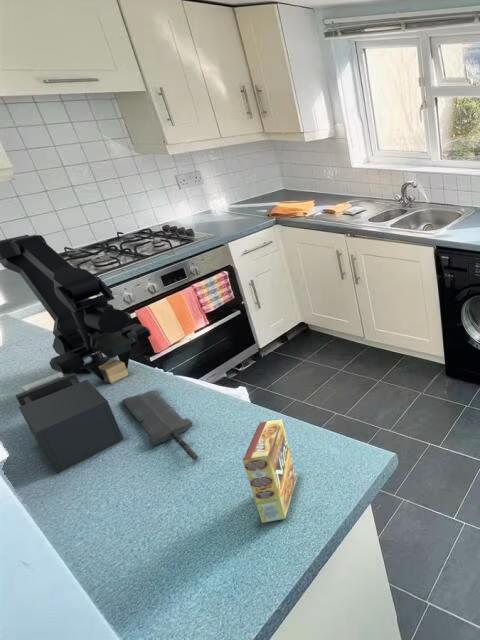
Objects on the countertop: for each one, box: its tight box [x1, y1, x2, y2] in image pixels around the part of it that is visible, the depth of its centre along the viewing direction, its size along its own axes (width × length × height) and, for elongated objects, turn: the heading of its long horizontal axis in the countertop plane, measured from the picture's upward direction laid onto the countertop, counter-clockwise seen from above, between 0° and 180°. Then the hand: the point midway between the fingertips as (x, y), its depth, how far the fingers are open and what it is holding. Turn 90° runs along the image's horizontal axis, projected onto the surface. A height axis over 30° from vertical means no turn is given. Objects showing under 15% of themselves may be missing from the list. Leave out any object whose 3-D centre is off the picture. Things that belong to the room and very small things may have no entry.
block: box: [99, 358, 130, 384], centre depth 111 cm, size 4×4×4 cm
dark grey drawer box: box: [18, 379, 125, 474], centre depth 90 cm, size 13×11×11 cm
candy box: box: [242, 419, 298, 524], centre depth 77 cm, size 9×4×15 cm, turn 13°
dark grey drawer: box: [14, 372, 80, 407], centre depth 95 cm, size 16×9×9 cm, turn 57°
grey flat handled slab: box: [121, 390, 199, 461], centre depth 96 cm, size 7×35×2 cm, turn 55°
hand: (114, 374), depth 112 cm, fingers open, 5 cm apart
